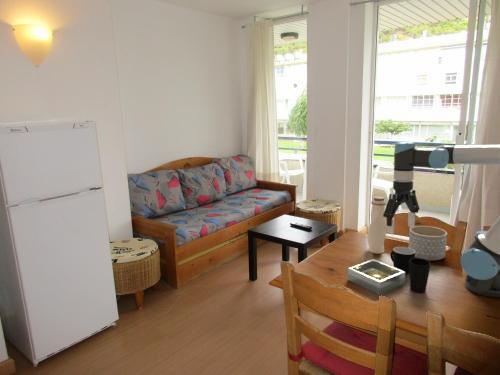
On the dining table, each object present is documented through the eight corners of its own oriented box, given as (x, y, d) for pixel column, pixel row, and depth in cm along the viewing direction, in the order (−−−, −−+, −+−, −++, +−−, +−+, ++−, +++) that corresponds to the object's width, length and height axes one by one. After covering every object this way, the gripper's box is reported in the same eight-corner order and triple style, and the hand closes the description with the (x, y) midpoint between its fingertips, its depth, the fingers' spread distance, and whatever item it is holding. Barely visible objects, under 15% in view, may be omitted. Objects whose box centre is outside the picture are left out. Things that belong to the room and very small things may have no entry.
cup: (418, 296, 142) (420, 267, 139) (403, 287, 149) (405, 260, 146) (432, 292, 145) (435, 263, 142) (417, 283, 152) (419, 256, 149)
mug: (418, 274, 160) (419, 252, 158) (402, 277, 157) (403, 255, 155) (398, 263, 171) (399, 243, 169) (382, 267, 168) (383, 246, 166)
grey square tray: (404, 284, 152) (405, 271, 150) (379, 295, 143) (380, 282, 142) (372, 270, 165) (373, 259, 164) (347, 280, 156) (348, 268, 155)
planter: (423, 264, 170) (425, 238, 168) (400, 251, 186) (402, 227, 183) (452, 260, 174) (455, 234, 172) (428, 247, 190) (430, 224, 187)
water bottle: (362, 247, 193) (365, 195, 187) (379, 246, 194) (382, 194, 188) (371, 254, 183) (374, 200, 177) (388, 253, 184) (391, 199, 178)
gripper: (413, 175, 159) (411, 222, 163) (375, 182, 146) (373, 233, 150) (430, 177, 153) (427, 226, 157) (390, 185, 140) (388, 238, 144)
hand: (400, 230), depth 154 cm, fingers open, 13 cm apart
